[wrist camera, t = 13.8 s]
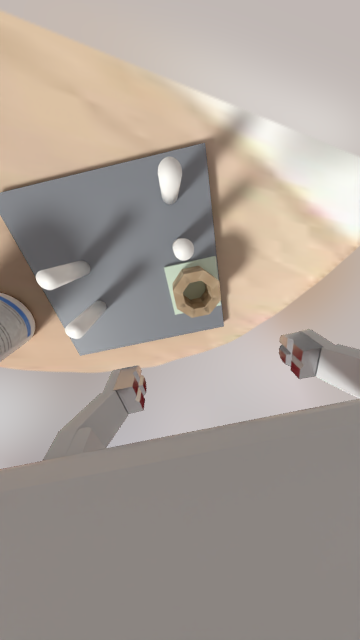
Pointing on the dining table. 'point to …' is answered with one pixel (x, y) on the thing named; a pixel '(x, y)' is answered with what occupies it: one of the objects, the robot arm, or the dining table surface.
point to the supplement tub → (14, 325)
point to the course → (117, 245)
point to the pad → (193, 288)
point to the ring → (197, 305)
